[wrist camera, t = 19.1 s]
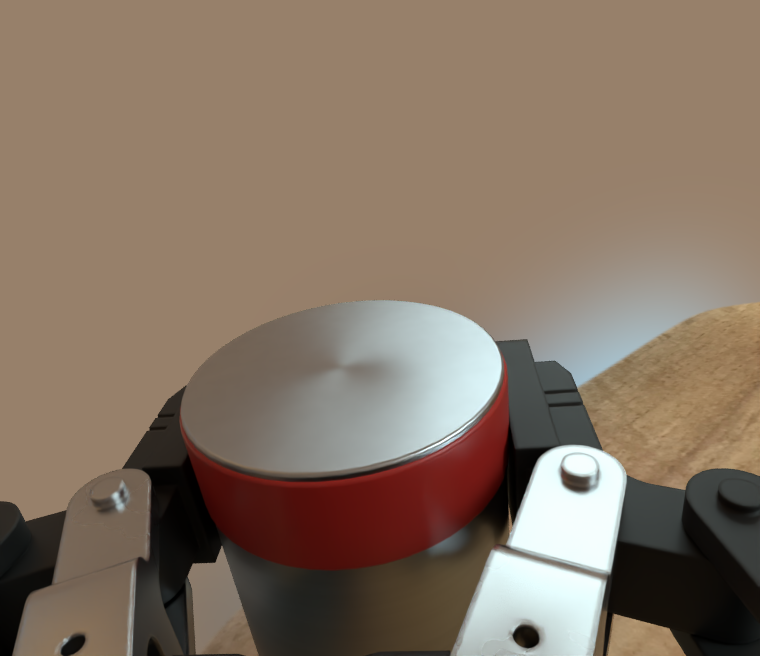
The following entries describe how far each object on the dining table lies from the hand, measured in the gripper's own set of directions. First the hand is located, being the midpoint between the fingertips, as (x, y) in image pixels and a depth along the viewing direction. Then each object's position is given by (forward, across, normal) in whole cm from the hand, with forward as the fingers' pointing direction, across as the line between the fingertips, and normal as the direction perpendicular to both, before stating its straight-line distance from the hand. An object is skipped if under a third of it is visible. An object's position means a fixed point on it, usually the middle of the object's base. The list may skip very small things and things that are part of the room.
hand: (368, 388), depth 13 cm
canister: (-3, 0, +11) cm, 11 cm away
